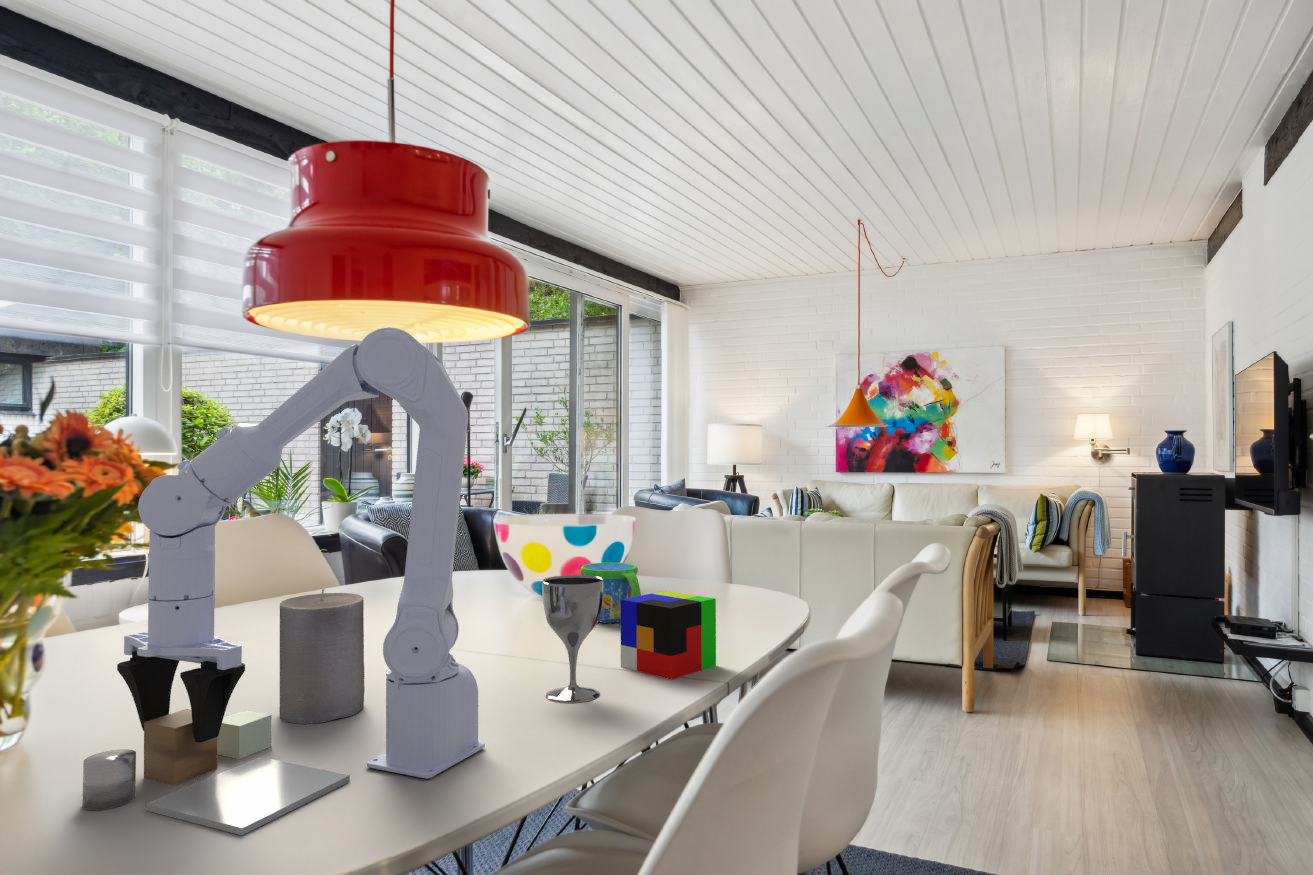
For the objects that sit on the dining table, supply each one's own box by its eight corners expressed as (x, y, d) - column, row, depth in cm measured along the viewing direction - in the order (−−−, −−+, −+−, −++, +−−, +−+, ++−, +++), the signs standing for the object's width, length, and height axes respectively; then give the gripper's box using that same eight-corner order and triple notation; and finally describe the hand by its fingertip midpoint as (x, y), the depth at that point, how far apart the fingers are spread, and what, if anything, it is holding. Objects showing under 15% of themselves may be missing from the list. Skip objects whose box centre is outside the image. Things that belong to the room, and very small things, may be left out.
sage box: (244, 741, 90) (245, 709, 90) (271, 746, 88) (271, 714, 88) (212, 754, 86) (212, 720, 86) (239, 759, 85) (239, 726, 85)
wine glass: (535, 690, 108) (535, 577, 109) (592, 683, 112) (591, 573, 112) (551, 707, 101) (551, 586, 101) (612, 699, 104) (611, 582, 105)
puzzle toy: (620, 667, 120) (620, 599, 120) (666, 654, 128) (665, 590, 128) (671, 679, 113) (670, 608, 114) (716, 665, 121) (715, 598, 121)
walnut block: (186, 762, 84) (186, 708, 84) (217, 768, 82) (217, 714, 82) (143, 778, 80) (144, 721, 80) (175, 785, 78) (175, 728, 78)
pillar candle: (302, 698, 105) (301, 582, 105) (376, 698, 105) (376, 582, 105) (263, 725, 95) (262, 596, 95) (345, 725, 95) (344, 596, 95)
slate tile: (260, 762, 83) (259, 756, 83) (349, 781, 79) (349, 775, 79) (145, 810, 72) (145, 803, 72) (242, 835, 68) (242, 827, 68)
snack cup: (656, 623, 150) (656, 568, 151) (609, 630, 144) (609, 573, 144) (609, 610, 163) (609, 559, 163) (563, 616, 157) (563, 563, 157)
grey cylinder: (117, 789, 77) (118, 746, 77) (145, 796, 75) (145, 752, 75) (72, 805, 73) (73, 760, 73) (100, 813, 72) (101, 767, 72)
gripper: (93, 597, 80) (91, 735, 80) (195, 608, 74) (193, 758, 74) (162, 586, 87) (160, 714, 86) (260, 596, 81) (259, 733, 81)
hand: (180, 733), depth 81 cm, fingers open, 7 cm apart
